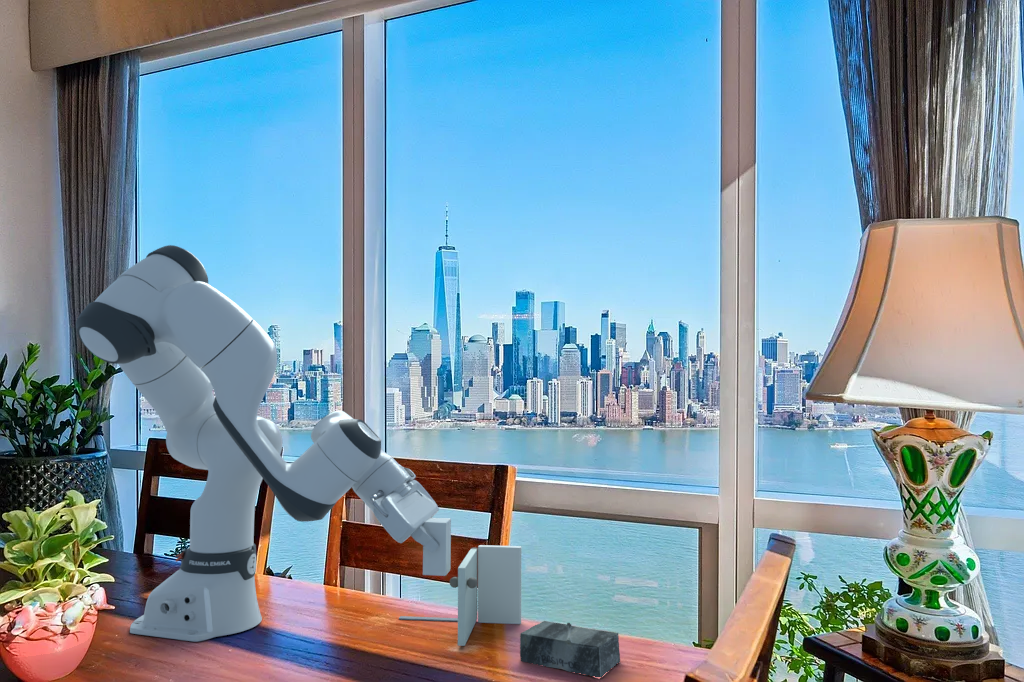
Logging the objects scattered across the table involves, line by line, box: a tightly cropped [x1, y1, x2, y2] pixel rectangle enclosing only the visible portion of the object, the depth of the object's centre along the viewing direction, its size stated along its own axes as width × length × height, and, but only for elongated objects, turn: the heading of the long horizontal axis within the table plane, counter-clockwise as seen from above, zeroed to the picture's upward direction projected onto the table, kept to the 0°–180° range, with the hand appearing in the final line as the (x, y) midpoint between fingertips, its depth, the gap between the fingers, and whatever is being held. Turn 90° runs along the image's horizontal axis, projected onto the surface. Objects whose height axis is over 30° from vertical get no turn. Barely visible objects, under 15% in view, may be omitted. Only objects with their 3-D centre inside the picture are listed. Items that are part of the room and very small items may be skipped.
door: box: [449, 547, 478, 647], centre depth 138 cm, size 15×5×13 cm, turn 174°
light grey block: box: [422, 517, 452, 577], centre depth 134 cm, size 4×4×9 cm
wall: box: [398, 544, 522, 625], centre depth 145 cm, size 23×1×14 cm, turn 84°
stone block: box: [519, 620, 621, 677], centre depth 125 cm, size 9×14×5 cm, turn 58°
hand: (439, 545), depth 134 cm, fingers closed on light grey block, 4 cm apart
